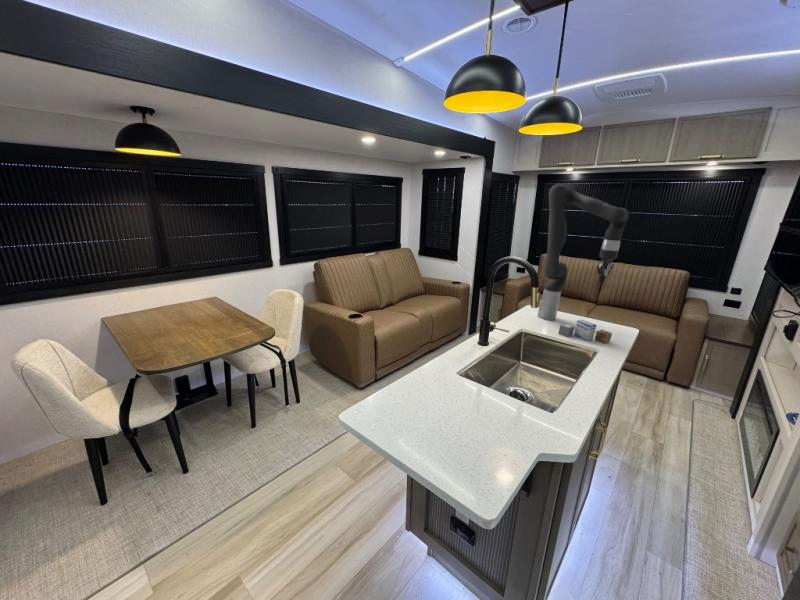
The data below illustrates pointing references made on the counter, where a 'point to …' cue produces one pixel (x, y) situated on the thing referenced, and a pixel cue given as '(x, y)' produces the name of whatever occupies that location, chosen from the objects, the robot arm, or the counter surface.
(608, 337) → the walnut block
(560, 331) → the slate block
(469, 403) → the counter surface
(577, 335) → the medicine box
